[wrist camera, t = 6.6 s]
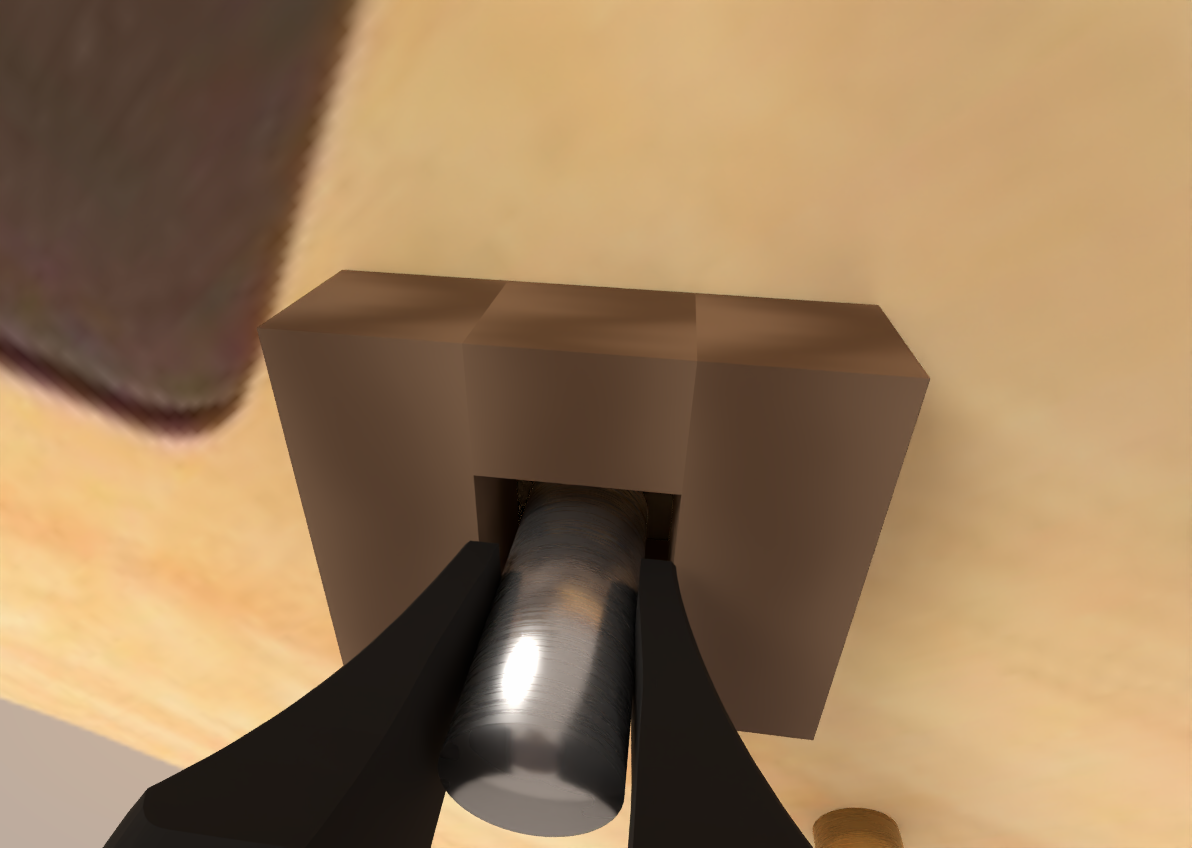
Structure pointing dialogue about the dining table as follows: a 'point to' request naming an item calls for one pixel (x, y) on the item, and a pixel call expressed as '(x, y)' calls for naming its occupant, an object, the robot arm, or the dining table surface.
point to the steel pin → (554, 669)
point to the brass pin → (856, 830)
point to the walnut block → (604, 450)
